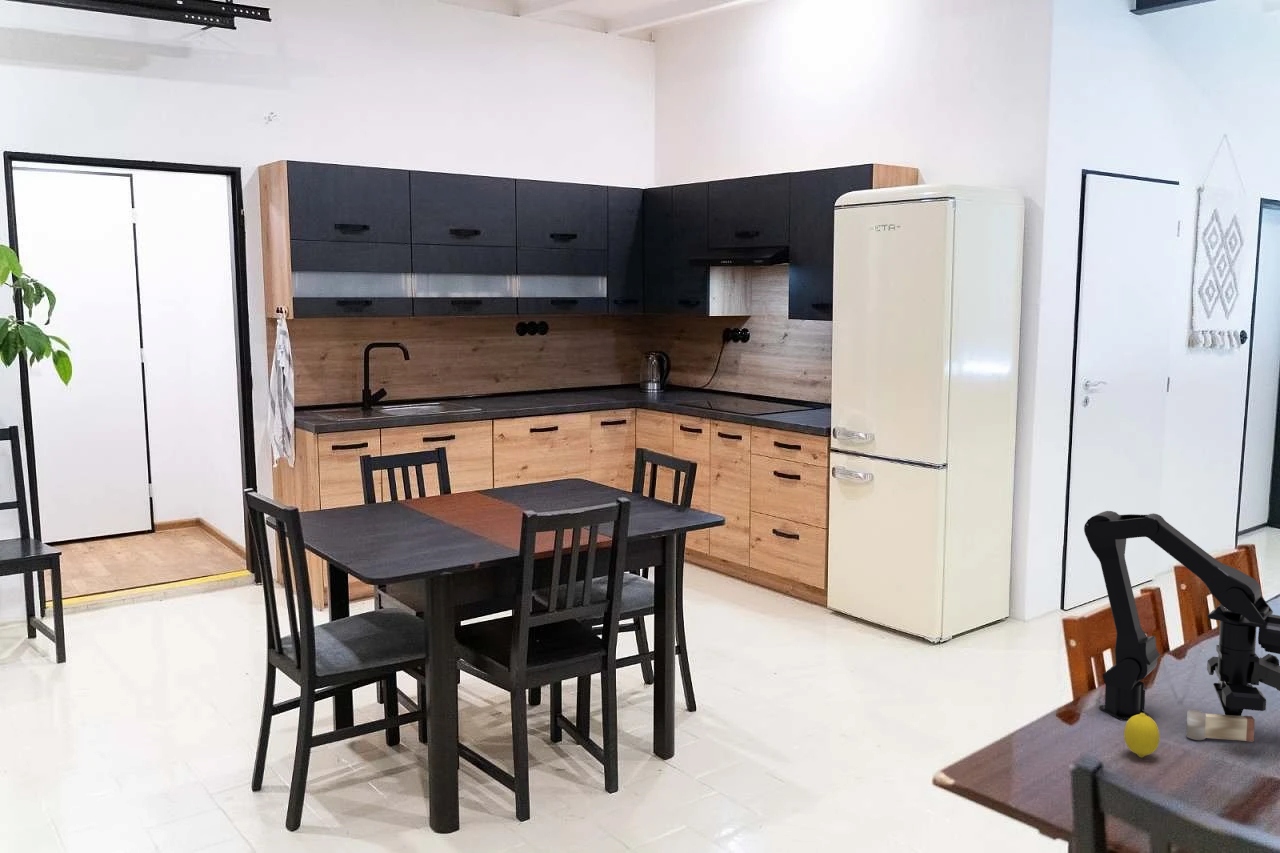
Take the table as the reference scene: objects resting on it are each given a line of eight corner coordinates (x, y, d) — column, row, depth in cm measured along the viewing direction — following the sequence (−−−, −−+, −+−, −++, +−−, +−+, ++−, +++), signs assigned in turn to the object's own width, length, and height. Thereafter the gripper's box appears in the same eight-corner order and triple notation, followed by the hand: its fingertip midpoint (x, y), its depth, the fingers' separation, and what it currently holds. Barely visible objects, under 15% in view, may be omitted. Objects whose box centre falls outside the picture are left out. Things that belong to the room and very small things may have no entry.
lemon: (1156, 766, 177) (1158, 721, 176) (1121, 759, 180) (1123, 715, 179) (1160, 754, 181) (1161, 711, 181) (1125, 748, 184) (1127, 705, 183)
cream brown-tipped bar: (1189, 739, 187) (1190, 715, 186) (1184, 732, 190) (1185, 709, 189) (1254, 743, 184) (1256, 720, 184) (1249, 737, 187) (1250, 713, 187)
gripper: (1302, 668, 175) (1297, 755, 177) (1275, 632, 192) (1271, 711, 195) (1228, 662, 179) (1224, 747, 181) (1208, 627, 196) (1204, 705, 198)
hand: (1232, 727), depth 189 cm, fingers closed
